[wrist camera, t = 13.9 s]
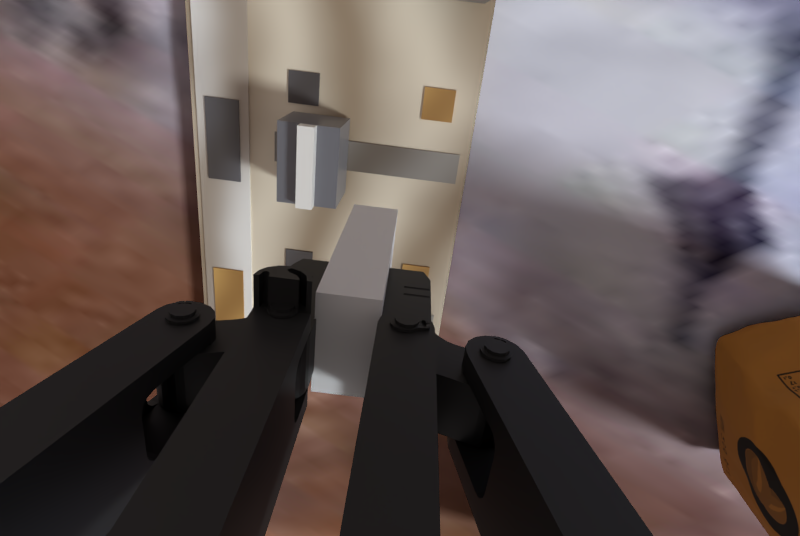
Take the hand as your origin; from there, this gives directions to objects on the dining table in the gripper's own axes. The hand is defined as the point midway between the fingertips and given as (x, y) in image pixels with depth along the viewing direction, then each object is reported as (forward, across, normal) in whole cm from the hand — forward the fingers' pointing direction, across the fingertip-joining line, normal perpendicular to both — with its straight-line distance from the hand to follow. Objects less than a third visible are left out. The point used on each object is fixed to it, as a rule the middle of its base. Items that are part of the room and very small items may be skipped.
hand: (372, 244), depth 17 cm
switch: (+11, +4, 0) cm, 12 cm away
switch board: (+12, +4, 0) cm, 13 cm away
